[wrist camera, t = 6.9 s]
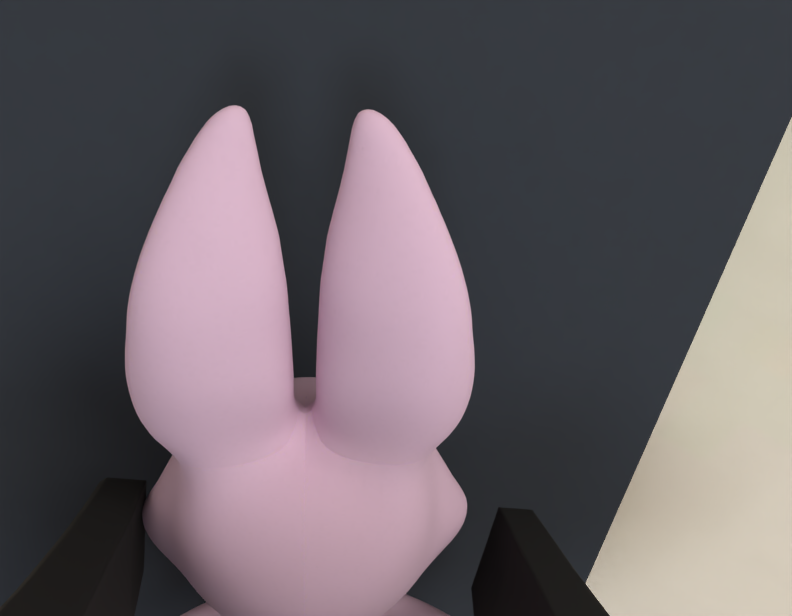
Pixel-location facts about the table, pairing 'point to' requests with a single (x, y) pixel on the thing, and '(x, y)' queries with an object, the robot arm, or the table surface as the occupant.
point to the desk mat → (453, 192)
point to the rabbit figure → (300, 384)
